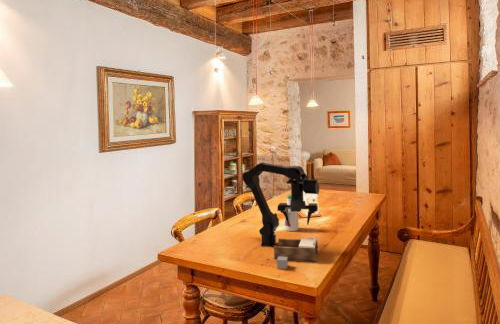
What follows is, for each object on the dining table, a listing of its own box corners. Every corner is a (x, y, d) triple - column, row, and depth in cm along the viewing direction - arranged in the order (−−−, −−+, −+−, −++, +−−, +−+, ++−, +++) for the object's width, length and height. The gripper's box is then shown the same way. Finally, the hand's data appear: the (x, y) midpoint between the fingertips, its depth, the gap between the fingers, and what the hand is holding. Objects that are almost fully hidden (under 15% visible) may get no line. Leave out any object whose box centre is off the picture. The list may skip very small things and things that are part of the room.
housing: (274, 259, 169) (273, 247, 168) (279, 249, 180) (278, 238, 180) (315, 261, 164) (315, 249, 163) (317, 252, 175) (317, 240, 175)
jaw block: (277, 268, 158) (276, 259, 158) (278, 265, 162) (278, 256, 162) (286, 269, 157) (286, 260, 157) (287, 265, 161) (287, 256, 161)
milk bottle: (297, 227, 215) (296, 193, 213) (299, 231, 208) (298, 196, 205) (284, 227, 215) (283, 194, 213) (286, 232, 208) (284, 196, 205)
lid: (298, 247, 165) (298, 243, 165) (301, 239, 176) (301, 235, 176) (314, 248, 163) (314, 244, 163) (316, 239, 175) (316, 235, 174)
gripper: (274, 196, 172) (276, 229, 174) (315, 196, 167) (316, 230, 169) (279, 191, 183) (280, 222, 185) (317, 191, 178) (318, 223, 180)
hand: (298, 224), depth 179 cm, fingers open, 9 cm apart
